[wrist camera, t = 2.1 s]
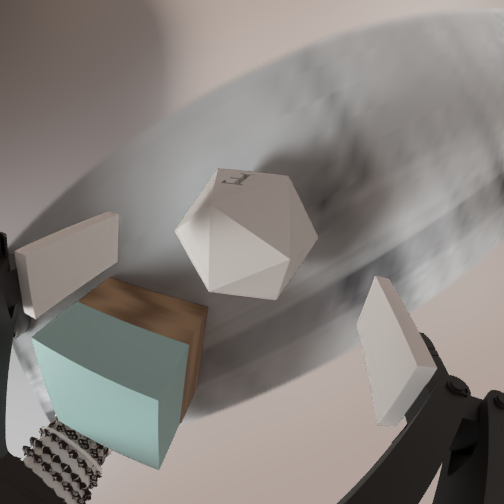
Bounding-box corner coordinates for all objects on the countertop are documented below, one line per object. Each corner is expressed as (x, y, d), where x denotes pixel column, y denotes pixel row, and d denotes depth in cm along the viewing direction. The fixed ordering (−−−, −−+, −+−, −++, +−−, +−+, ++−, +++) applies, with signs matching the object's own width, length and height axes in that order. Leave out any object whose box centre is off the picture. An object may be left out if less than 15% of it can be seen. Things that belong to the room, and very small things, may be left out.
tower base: (115, 354, 31) (89, 386, 26) (110, 276, 27) (75, 303, 22) (198, 384, 30) (181, 423, 25) (208, 305, 27) (186, 344, 21)
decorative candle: (90, 351, 31) (-29, 493, 8) (152, 393, 32) (59, 560, 9) (81, 385, 35) (-10, 504, 11) (134, 422, 35) (59, 555, 12)
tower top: (88, 383, 25) (58, 420, 20) (76, 301, 22) (31, 337, 16) (179, 422, 25) (159, 470, 19) (189, 344, 21) (158, 400, 15)
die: (334, 213, 23) (306, 140, 14) (303, 320, 21) (253, 308, 13) (244, 197, 26) (183, 136, 18) (212, 290, 25) (131, 263, 17)
